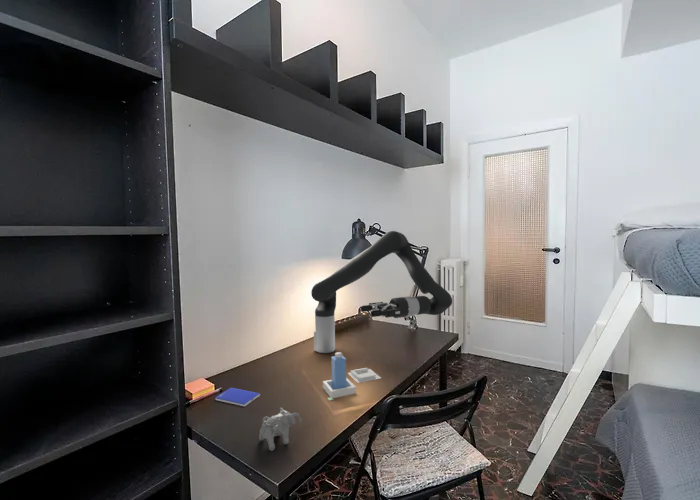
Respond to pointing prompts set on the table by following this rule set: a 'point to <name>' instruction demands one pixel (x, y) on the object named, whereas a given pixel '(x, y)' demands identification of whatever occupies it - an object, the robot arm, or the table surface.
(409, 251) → the robot arm
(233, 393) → the hard drive
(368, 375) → the white square tray
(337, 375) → the blue square bottle
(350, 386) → the frame
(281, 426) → the elephant statuette
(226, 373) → the table surface
